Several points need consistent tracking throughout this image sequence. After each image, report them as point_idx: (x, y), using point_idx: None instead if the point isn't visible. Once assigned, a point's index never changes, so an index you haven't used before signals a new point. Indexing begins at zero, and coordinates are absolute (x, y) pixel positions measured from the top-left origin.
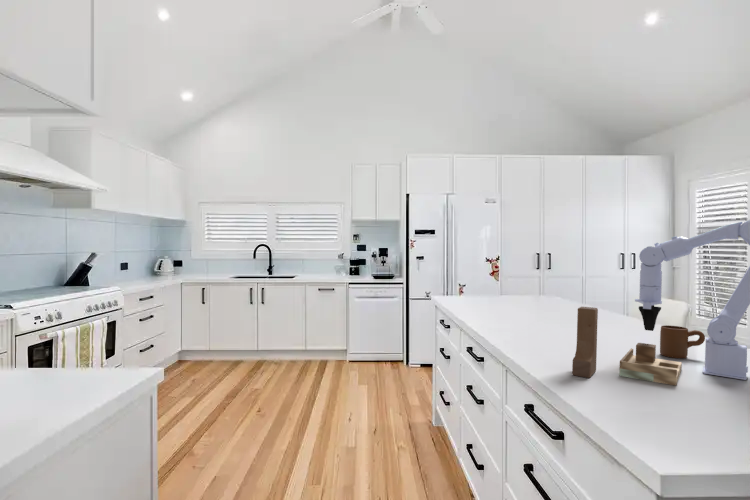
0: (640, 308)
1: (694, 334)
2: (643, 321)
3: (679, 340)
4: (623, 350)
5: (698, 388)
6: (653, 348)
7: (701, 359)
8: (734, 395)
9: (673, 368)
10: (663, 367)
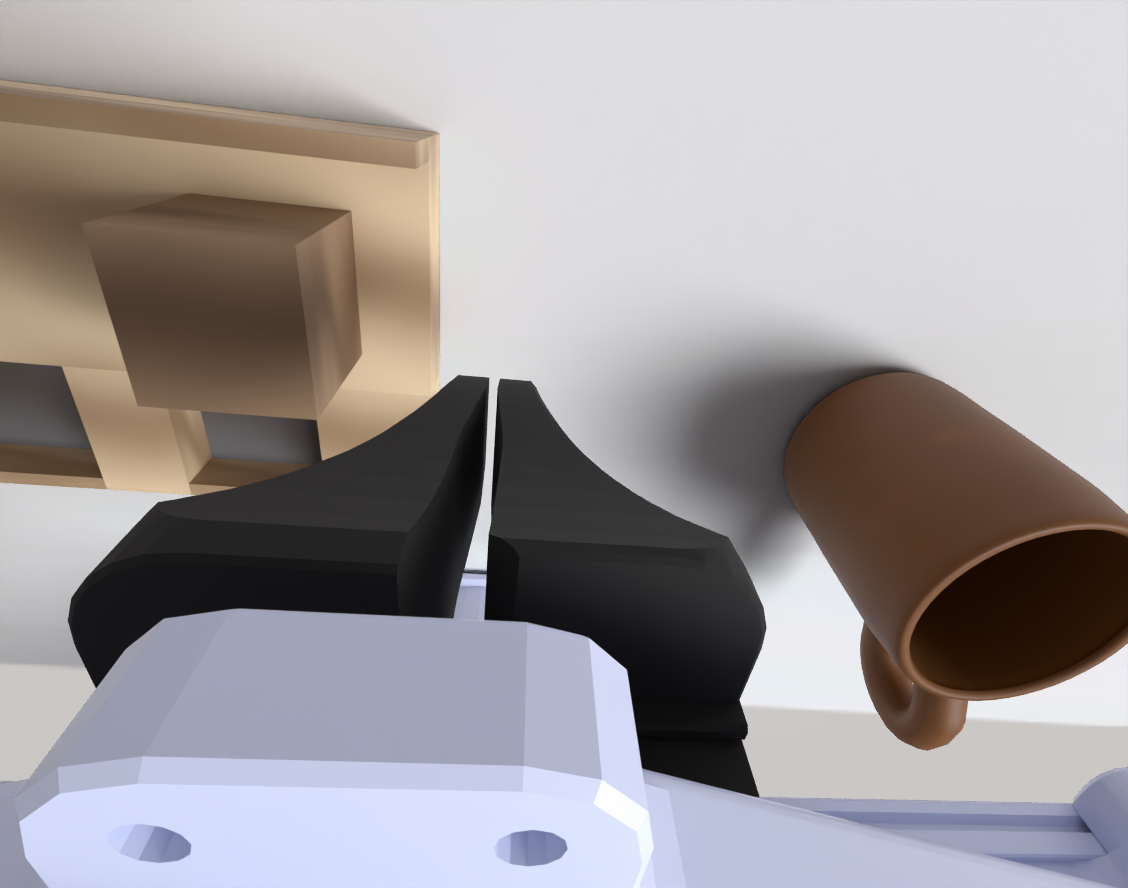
0: (93, 576)
1: (913, 693)
2: (408, 417)
3: (838, 572)
4: (966, 31)
5: (4, 536)
6: (144, 396)
7: (824, 576)
8: (44, 644)
9: (164, 463)
10: (124, 407)
